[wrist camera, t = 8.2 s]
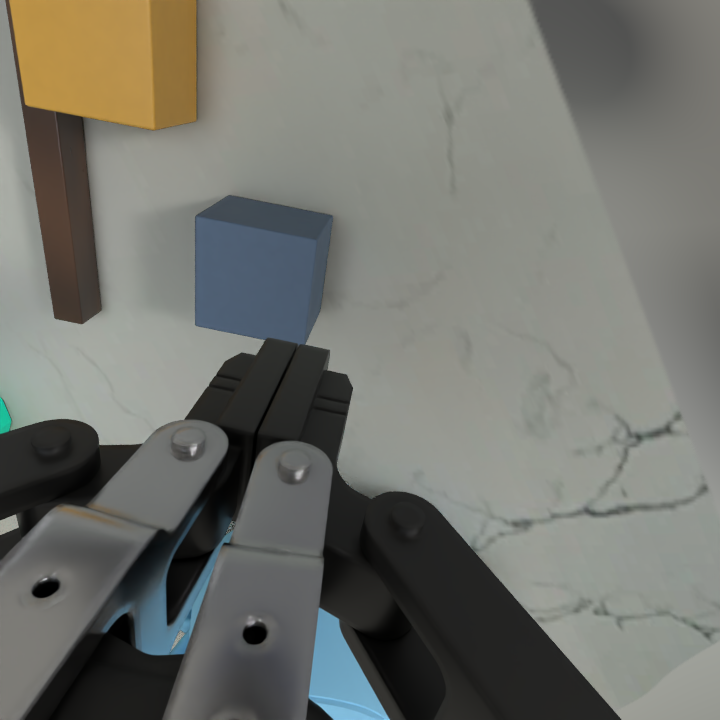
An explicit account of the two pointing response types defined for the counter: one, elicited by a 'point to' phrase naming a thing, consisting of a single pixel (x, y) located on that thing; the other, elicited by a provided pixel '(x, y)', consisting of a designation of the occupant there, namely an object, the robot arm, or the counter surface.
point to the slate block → (260, 268)
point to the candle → (4, 418)
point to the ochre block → (109, 59)
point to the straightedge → (62, 206)
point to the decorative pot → (320, 668)
